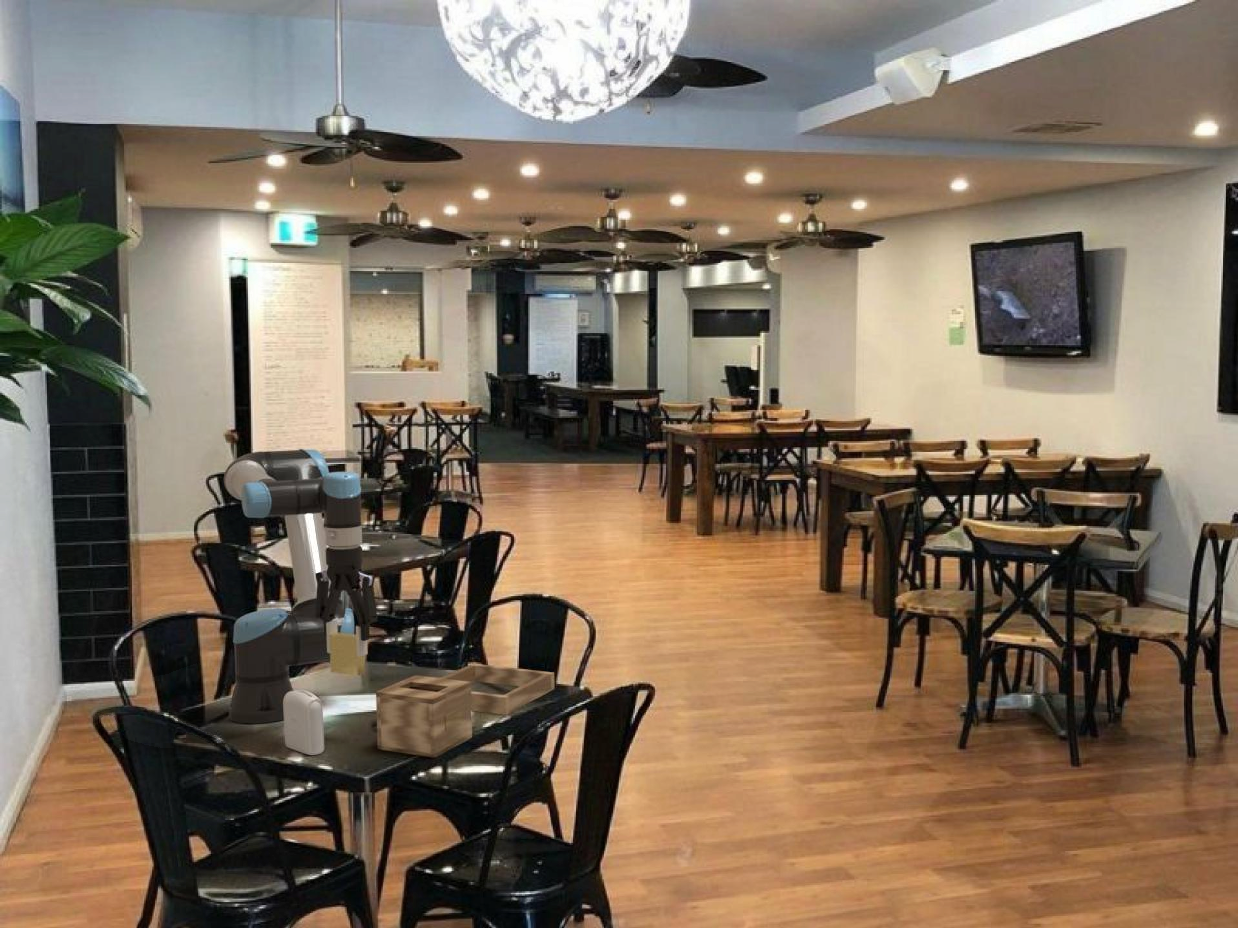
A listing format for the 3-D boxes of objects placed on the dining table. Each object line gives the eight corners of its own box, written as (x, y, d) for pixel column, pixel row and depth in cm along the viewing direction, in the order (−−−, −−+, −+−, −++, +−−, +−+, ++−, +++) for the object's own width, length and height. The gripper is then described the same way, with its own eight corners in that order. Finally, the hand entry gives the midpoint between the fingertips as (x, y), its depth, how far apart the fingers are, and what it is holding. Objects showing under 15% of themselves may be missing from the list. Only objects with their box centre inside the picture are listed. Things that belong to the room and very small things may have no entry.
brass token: (330, 672, 253) (329, 635, 252) (338, 669, 255) (337, 632, 254) (357, 675, 250) (356, 638, 249) (365, 672, 252) (363, 635, 251)
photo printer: (282, 746, 248) (279, 688, 247) (300, 741, 251) (297, 684, 250) (309, 757, 241) (306, 697, 240) (327, 752, 244) (325, 693, 243)
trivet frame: (420, 703, 277) (419, 686, 277) (473, 679, 298) (472, 663, 298) (505, 714, 268) (505, 697, 267) (554, 688, 288) (554, 672, 288)
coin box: (377, 748, 245) (375, 691, 244) (417, 729, 258) (415, 675, 257) (435, 757, 239) (433, 699, 238) (473, 737, 252) (471, 681, 251)
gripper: (294, 545, 251) (298, 652, 253) (371, 552, 242) (375, 662, 244) (317, 540, 257) (321, 644, 260) (393, 546, 249) (396, 653, 251)
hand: (347, 653), depth 252 cm, fingers closed on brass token, 7 cm apart
